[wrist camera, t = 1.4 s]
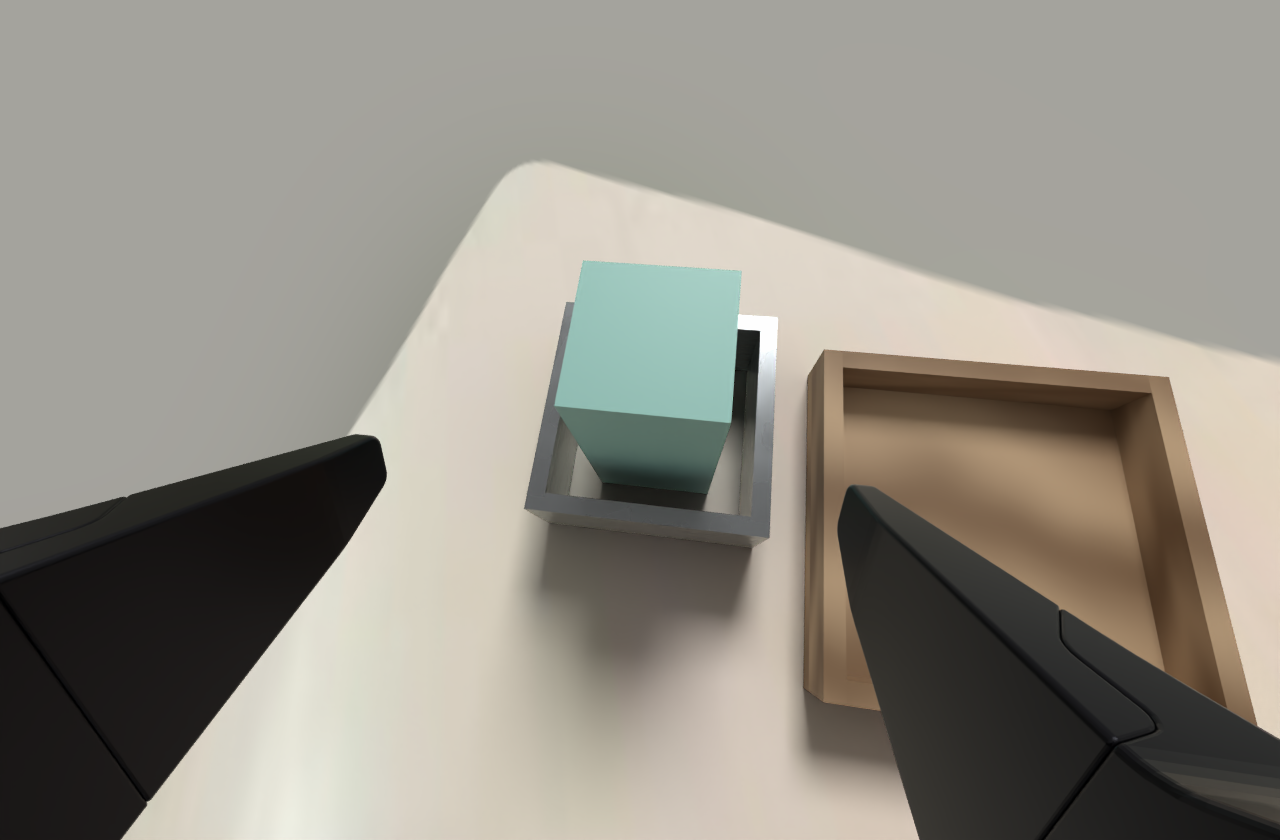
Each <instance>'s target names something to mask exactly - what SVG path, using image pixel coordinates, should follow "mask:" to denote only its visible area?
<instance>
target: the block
mask: <svg viewBox="0 0 1280 840" xmlns="http://www.w3.org/2000/svg"><path fill="white" fill-rule="evenodd" d="M741 272H742V271H735V270H720V269H705V268H689V267H674V266H658V265H643V264H628V263H612V262H597V261H583V263H582V268H581V273H580V278H579V283H578V288H577V293H576V298H575V303H574V308H573V314H572V319H571V324H570V329H569V334H568V339H567V344H566V349H565V354H564V359H563V364H562V369H561V374H560V379H559V384H558V389H557V394H556V399H555V404H554V406H555V408H556V410H557V411H558V413H559V414H560V416H561V418H562V419H563V421H564V422H565V424H566V425H567V427H568V429H569V430H570V432H571V433H572V435H573V437H574V438H575V440H576V441H577V443H578V444H579V446H580V448H581V449H582V451H583V452H584V454H585V456H586V457H587V459H588V460H589V462H590V464H591V465H592V467H593V468H594V470H595V471H596V473H597V475H598V476H599V478H600V479H601V481H602V482H605V483H614V484H623V485H632V486H641V487H650V488H659V489H668V490H676V491H685V492H694V493H703V494H707V493H708V490H709V487H710V484H711V481H712V478H713V475H714V472H715V469H716V466H717V463H718V460H719V458H720V455H721V452H722V449H723V446H724V443H725V440H726V437H727V434H728V431H729V428H730V425H731V417H732V403H733V388H734V374H735V359H736V345H737V330H738V316H739V301H740V286H741Z"/></svg>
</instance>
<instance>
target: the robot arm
mask: <svg viewBox="0 0 1280 840" xmlns="http://www.w3.org/2000/svg"><path fill="white" fill-rule="evenodd" d="M386 478H387V471H386V466H385V462H384V457H383V453H382V448H381V444H380V441H379V440H378V439H377V438H376V437H374V436H369V435H359V434H355V435H350V436H347V437H343V438H339V439H336V440H332V441H328V442H324V443H321V444H317V445H313V446H310V447H306V448H302V449H298V450H295V451H291V452H287V453H283V454H280V455H276V456H272V457H269V458H265V459H261V460H258V461H254V462H250V463H246V464H243V465H239V466H236V467H232V468H228V469H224V470H221V471H217V472H213V473H209V474H206V475H202V476H198V477H194V478H191V479H187V480H183V481H180V482H176V483H173V484H168V485H165V486H161V487H158V488H154V489H150V490H147V491H143V492H139V493H135V494H132V495H130V496H128V497H127V498H126V497H120V498H116V499H112V500H109V501H105V502H101V503H98V504H94V505H90V506H86V507H82V508H79V509H75V510H71V511H67V512H64V513H59V514H56V515H52V516H48V517H44V518H40V519H36V520H32V521H28V522H24V523H20V524H16V525H12V526H8V527H4V528H0V840H121V839H122V838H123V836H124V835H125V834H126V832H127V831H128V830H129V828H130V827H131V826H132V825H133V823H134V822H135V821H136V819H137V818H138V817H139V815H140V814H141V813H142V812H143V810H144V809H145V808H146V806H147V802H148V801H150V800H151V799H152V798H153V796H154V795H155V794H156V793H157V791H158V790H159V789H160V787H161V786H162V785H163V783H164V782H165V781H166V780H167V778H168V777H169V776H170V774H171V773H172V772H173V771H174V769H175V768H176V767H177V765H178V764H179V763H180V761H181V760H182V759H183V758H184V756H185V755H186V754H187V752H188V751H189V750H190V748H191V747H192V746H193V745H194V743H195V742H196V741H197V739H198V738H199V737H200V735H201V734H202V733H203V732H204V730H205V729H206V728H207V726H208V725H209V724H210V722H211V721H212V720H213V719H214V717H215V716H216V715H217V713H218V712H219V711H220V709H221V708H222V707H223V706H224V704H225V703H226V702H227V700H228V699H229V698H230V696H231V695H232V694H233V693H234V691H235V690H236V689H237V687H238V686H239V685H240V683H241V682H242V681H243V680H244V678H245V677H246V676H247V674H248V673H249V672H250V670H251V669H252V668H253V667H254V665H255V664H256V663H257V661H258V660H259V659H260V657H261V656H262V655H263V654H264V652H265V651H266V650H267V648H268V647H269V646H270V645H271V643H272V642H273V641H274V639H275V638H276V637H277V635H278V634H279V633H280V632H281V630H282V629H283V628H284V626H285V625H286V624H287V622H288V621H289V620H290V619H291V617H292V616H293V615H294V613H295V612H296V611H297V609H298V608H299V607H300V606H301V604H302V603H303V602H304V600H305V599H306V598H307V596H308V595H309V594H310V593H311V591H312V590H313V589H314V587H315V586H316V585H317V583H318V582H319V581H320V580H321V578H322V577H323V576H324V574H325V573H326V572H327V570H328V569H329V568H330V567H331V565H332V564H333V563H334V561H335V560H336V559H337V557H338V556H339V555H340V553H341V552H342V551H343V549H344V548H345V547H346V545H347V544H348V542H349V541H350V539H351V538H352V536H353V534H354V533H355V531H356V530H357V528H358V526H359V525H360V523H361V522H362V520H363V518H364V517H365V515H366V513H367V512H368V510H369V509H370V507H371V505H372V504H373V502H374V501H375V499H376V497H377V496H378V494H379V493H380V491H381V489H382V488H383V486H384V484H385V482H386ZM837 535H838V541H839V547H840V553H841V559H842V565H843V570H844V576H845V582H846V588H847V594H848V599H849V604H850V609H851V613H852V616H853V620H854V624H855V627H856V630H857V634H858V637H859V640H860V644H861V647H862V650H863V654H864V657H865V660H866V664H867V667H868V670H869V674H870V677H871V680H872V683H873V687H874V690H875V693H876V697H877V700H878V703H879V707H880V710H881V713H882V717H883V720H884V723H885V727H886V730H887V733H888V737H889V740H890V743H891V747H892V750H893V753H894V757H895V760H896V763H897V767H898V770H899V773H900V777H901V780H902V783H903V786H904V790H905V793H906V796H907V800H908V803H909V806H910V810H911V813H912V816H913V820H914V823H915V826H916V830H917V833H918V836H919V840H1280V739H1278V738H1277V737H1275V736H1273V735H1272V734H1270V733H1268V732H1266V731H1265V730H1263V729H1261V728H1260V727H1258V726H1256V725H1254V724H1253V723H1251V722H1249V721H1248V720H1246V719H1244V718H1242V717H1241V716H1239V715H1237V714H1236V713H1234V712H1232V711H1230V710H1229V709H1227V708H1225V707H1224V706H1222V705H1220V704H1218V703H1217V702H1215V701H1213V700H1212V699H1210V698H1208V697H1206V696H1205V695H1203V694H1201V693H1200V692H1198V691H1196V690H1194V689H1193V688H1191V687H1189V686H1188V685H1186V684H1184V683H1183V682H1181V681H1179V680H1178V679H1176V678H1174V677H1173V676H1171V675H1169V674H1168V673H1166V672H1164V671H1162V670H1161V669H1159V668H1157V667H1156V666H1154V665H1152V664H1151V663H1149V662H1147V661H1146V660H1144V659H1142V658H1141V657H1139V656H1137V655H1136V654H1134V653H1132V652H1131V651H1129V650H1128V649H1126V648H1124V647H1123V646H1121V645H1120V644H1118V643H1116V642H1115V641H1113V640H1112V639H1110V638H1109V637H1107V636H1105V635H1104V634H1102V633H1101V632H1099V631H1097V630H1096V629H1094V628H1093V627H1091V626H1089V625H1088V624H1086V623H1085V622H1083V621H1082V620H1080V619H1079V618H1077V617H1076V616H1074V615H1073V614H1071V613H1069V612H1068V611H1066V610H1064V609H1061V610H1060V608H1059V606H1058V605H1057V604H1055V603H1054V602H1052V601H1051V600H1049V599H1048V598H1046V597H1044V596H1043V595H1041V594H1040V593H1038V592H1037V591H1035V590H1034V589H1032V588H1031V587H1029V586H1027V585H1026V584H1024V583H1023V582H1021V581H1020V580H1018V579H1017V578H1015V577H1013V576H1012V575H1010V574H1009V573H1007V572H1006V571H1004V570H1003V569H1001V568H1000V567H998V566H996V565H995V564H993V563H992V562H990V561H989V560H987V559H986V558H984V557H982V556H981V555H979V554H978V553H976V552H975V551H973V550H972V549H970V548H969V547H967V546H965V545H964V544H962V543H961V542H959V541H958V540H956V539H955V538H953V537H951V536H950V535H948V534H947V533H945V532H944V531H942V530H941V529H939V528H938V527H936V526H934V525H933V524H931V523H930V522H928V521H927V520H925V519H924V518H922V517H921V516H919V515H917V514H916V513H914V512H913V511H911V510H910V509H908V508H907V507H905V506H903V505H902V504H900V503H899V502H897V501H896V500H894V499H893V498H891V497H890V496H888V495H886V494H885V493H883V492H882V491H880V490H879V489H877V488H876V487H873V486H867V485H857V484H852V485H850V486H849V487H848V488H847V490H846V493H845V496H844V500H843V504H842V508H841V511H840V515H839V519H838V524H837Z"/></svg>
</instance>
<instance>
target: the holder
mask: <svg viewBox="0 0 1280 840" xmlns="http://www.w3.org/2000/svg"><path fill="white" fill-rule="evenodd" d="M573 308H574V303H573V302H566V307H565V311H564V316H563V321H562V326H561V331H560V336H559V341H558V346H557V351H556V355H555V360H554V365H553V370H552V375H551V380H550V385H549V390H548V395H547V399H546V404H545V409H544V414H543V419H542V424H541V429H540V434H539V438H538V443H537V448H536V453H535V458H534V463H533V468H532V473H531V478H530V482H529V487H528V492H527V497H526V502H525V507H524V509H526V510H527V511H529V512H531V513H533V514H534V515H536V516H538V517H540V518H541V519H543V520H545V521H546V522H548V523H554V524H562V525H571V526H579V527H587V528H595V529H603V530H611V531H620V532H628V533H636V534H644V535H652V536H660V537H669V538H677V539H685V540H693V541H701V542H709V543H718V544H726V545H734V546H742V547H750V548H753V547H755V546H757V545H758V544H760V543H762V542H763V541H765V540H767V539H769V534H770V507H771V481H772V455H773V429H774V402H775V376H776V350H777V323H778V318H774V317H761V316H747V315H739V316H738V330H737V345H736V359H735V370H743V371H747V384H746V401H745V418H744V434H743V451H742V468H741V485H740V502H739V515H731V514H722V513H714V512H705V511H696V510H688V509H679V508H670V507H662V506H653V505H645V504H636V503H627V502H619V501H610V500H602V499H593V498H584V497H576V496H568V495H569V490H570V484H571V478H572V473H573V467H574V461H575V456H576V450H577V444H578V443H577V441H576V440H575V438H574V437H573V435H572V433H571V432H570V430H569V429H568V427H567V425H566V424H565V422H564V421H563V419H562V418H561V416H560V414H559V413H558V411H557V410H556V408H555V406H554V404H555V399H556V394H557V389H558V384H559V379H560V374H561V369H562V364H563V359H564V354H565V349H566V344H567V339H568V334H569V329H570V324H571V319H572V314H573Z"/></svg>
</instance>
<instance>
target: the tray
mask: <svg viewBox="0 0 1280 840" xmlns="http://www.w3.org/2000/svg"><path fill="white" fill-rule="evenodd" d="M852 484H857V485H867V486H873V487H876V488H877V489H879V490H880V491H882V492H883V493H885V494H886V495H888V496H890V497H891V498H893V499H894V500H896V501H897V502H899V503H900V504H902V505H903V506H905V507H907V508H908V509H910V510H911V511H913V512H914V513H916V514H917V515H919V516H921V517H922V518H924V519H925V520H927V521H928V522H930V523H931V524H933V525H934V526H936V527H938V528H939V529H941V530H942V531H944V532H945V533H947V534H948V535H950V536H951V537H953V538H955V539H956V540H958V541H959V542H961V543H962V544H964V545H965V546H967V547H969V548H970V549H972V550H973V551H975V552H976V553H978V554H979V555H981V556H982V557H984V558H986V559H987V560H989V561H990V562H992V563H993V564H995V565H996V566H998V567H1000V568H1001V569H1003V570H1004V571H1006V572H1007V573H1009V574H1010V575H1012V576H1013V577H1015V578H1017V579H1018V580H1020V581H1021V582H1023V583H1024V584H1026V585H1027V586H1029V587H1031V588H1032V589H1034V590H1035V591H1037V592H1038V593H1040V594H1041V595H1043V596H1044V597H1046V598H1048V599H1049V600H1051V601H1052V602H1054V603H1055V604H1057V605H1058V606H1059V608H1060V610H1061V609H1064V610H1066V611H1068V612H1069V613H1071V614H1073V615H1074V616H1076V617H1077V618H1079V619H1080V620H1082V621H1083V622H1085V623H1086V624H1088V625H1089V626H1091V627H1093V628H1094V629H1096V630H1097V631H1099V632H1101V633H1102V634H1104V635H1105V636H1107V637H1109V638H1110V639H1112V640H1113V641H1115V642H1116V643H1118V644H1120V645H1121V646H1123V647H1124V648H1126V649H1128V650H1129V651H1131V652H1132V653H1134V654H1136V655H1137V656H1139V657H1141V658H1142V659H1144V660H1146V661H1147V662H1149V663H1151V664H1152V665H1154V666H1156V667H1157V668H1159V669H1161V670H1162V671H1164V672H1166V673H1168V674H1169V675H1171V676H1173V677H1174V678H1176V679H1178V680H1179V681H1181V682H1183V683H1184V684H1186V685H1188V686H1189V687H1191V688H1193V689H1194V690H1196V691H1198V692H1200V693H1201V694H1203V695H1205V696H1206V697H1208V698H1210V699H1212V700H1213V701H1215V702H1217V703H1218V704H1220V705H1222V706H1224V707H1225V708H1227V709H1229V710H1230V711H1232V712H1234V713H1236V714H1237V715H1239V716H1241V717H1242V718H1244V719H1246V720H1248V721H1249V722H1251V723H1253V724H1254V725H1256V726H1257V722H1256V718H1255V714H1254V711H1253V707H1252V703H1251V699H1250V695H1249V691H1248V687H1247V683H1246V679H1245V675H1244V671H1243V667H1242V663H1241V659H1240V655H1239V651H1238V648H1237V644H1236V640H1235V636H1234V632H1233V628H1232V624H1231V620H1230V616H1229V612H1228V608H1227V604H1226V600H1225V596H1224V592H1223V588H1222V585H1221V581H1220V577H1219V573H1218V569H1217V565H1216V561H1215V557H1214V553H1213V549H1212V545H1211V541H1210V537H1209V533H1208V529H1207V525H1206V522H1205V518H1204V514H1203V510H1202V506H1201V502H1200V498H1199V494H1198V490H1197V486H1196V482H1195V478H1194V474H1193V470H1192V466H1191V462H1190V458H1189V455H1188V451H1187V447H1186V443H1185V439H1184V435H1183V431H1182V427H1181V423H1180V419H1179V415H1178V411H1177V407H1176V403H1175V399H1174V395H1173V392H1172V388H1171V384H1170V380H1169V377H1160V376H1147V375H1135V374H1122V373H1110V372H1097V371H1085V370H1072V369H1060V368H1047V367H1035V366H1022V365H1010V364H997V363H985V362H973V361H960V360H948V359H935V358H923V357H910V356H898V355H885V354H873V353H860V352H848V351H835V350H824V351H823V352H822V354H821V356H820V357H819V359H818V360H817V362H816V364H815V365H814V367H813V369H812V370H811V372H810V373H809V375H808V403H807V474H806V545H805V616H804V689H806V690H807V691H808V692H810V693H811V694H813V695H814V696H815V697H817V698H818V699H820V700H821V701H822V702H825V703H832V704H838V705H845V706H851V707H858V708H864V709H871V710H878V711H881V710H880V707H879V703H878V700H877V697H876V693H875V690H874V687H873V683H872V680H871V677H870V674H869V670H868V667H867V664H866V660H865V657H864V654H863V650H862V647H861V644H860V640H859V637H858V634H857V630H856V627H855V624H854V620H853V616H852V613H851V609H850V604H849V599H848V594H847V588H846V582H845V576H844V570H843V565H842V559H841V553H840V547H839V541H838V535H837V524H838V519H839V515H840V511H841V508H842V504H843V500H844V496H845V493H846V490H847V488H848V487H849V486H850V485H852Z"/></svg>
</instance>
